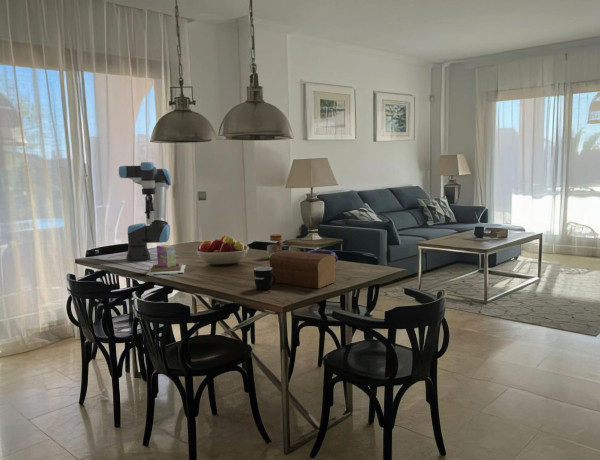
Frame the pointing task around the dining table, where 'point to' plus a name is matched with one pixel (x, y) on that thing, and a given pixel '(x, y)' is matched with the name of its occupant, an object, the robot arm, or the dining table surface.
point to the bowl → (324, 253)
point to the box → (166, 255)
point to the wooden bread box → (303, 268)
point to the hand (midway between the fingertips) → (150, 223)
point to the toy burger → (276, 246)
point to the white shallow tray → (166, 269)
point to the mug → (263, 278)
